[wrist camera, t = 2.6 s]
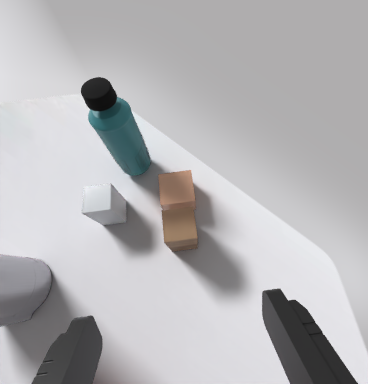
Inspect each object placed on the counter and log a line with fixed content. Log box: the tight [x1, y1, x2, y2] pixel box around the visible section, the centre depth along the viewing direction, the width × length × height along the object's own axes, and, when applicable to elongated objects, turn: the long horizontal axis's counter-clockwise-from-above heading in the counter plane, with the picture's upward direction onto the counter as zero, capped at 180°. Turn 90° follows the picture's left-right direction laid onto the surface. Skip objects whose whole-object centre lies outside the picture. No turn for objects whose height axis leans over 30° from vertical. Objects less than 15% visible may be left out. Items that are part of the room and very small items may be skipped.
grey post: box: [82, 183, 126, 225], centre depth 37 cm, size 4×4×8 cm
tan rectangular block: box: [162, 206, 198, 252], centre depth 33 cm, size 4×4×10 cm
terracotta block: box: [158, 170, 196, 210], centre depth 39 cm, size 6×6×5 cm
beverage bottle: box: [81, 77, 151, 175], centre depth 35 cm, size 6×7×20 cm
